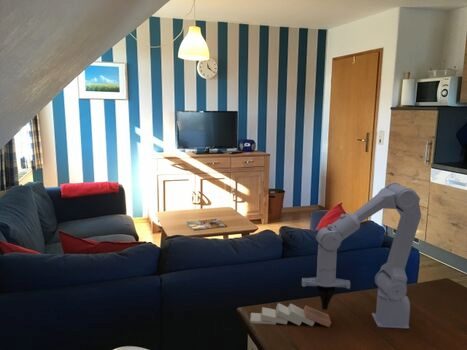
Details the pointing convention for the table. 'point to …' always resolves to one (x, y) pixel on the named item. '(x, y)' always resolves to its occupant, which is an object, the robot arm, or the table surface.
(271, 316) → the ivory domino
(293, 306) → the ivory domino
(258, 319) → the ivory domino
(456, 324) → the table surface
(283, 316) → the ivory domino
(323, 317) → the terracotta domino
